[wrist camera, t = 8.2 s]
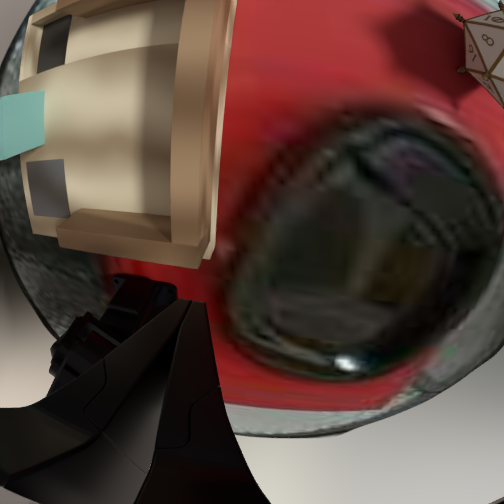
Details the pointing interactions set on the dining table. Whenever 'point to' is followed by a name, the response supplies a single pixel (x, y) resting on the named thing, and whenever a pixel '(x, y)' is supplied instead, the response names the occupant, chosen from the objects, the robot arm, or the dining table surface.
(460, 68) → the game die
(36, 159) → the board
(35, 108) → the block
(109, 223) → the cubby
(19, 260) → the dining table surface
